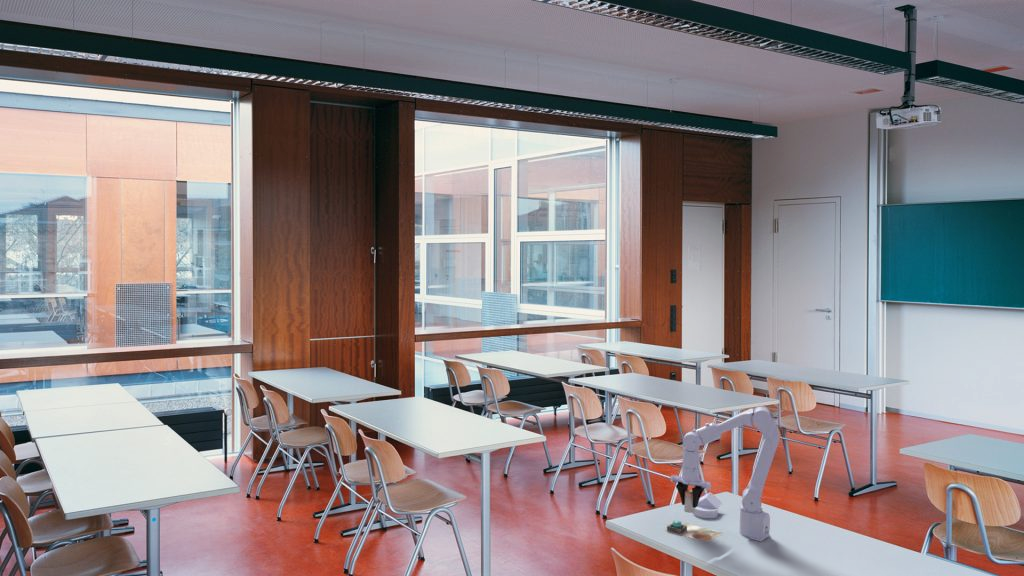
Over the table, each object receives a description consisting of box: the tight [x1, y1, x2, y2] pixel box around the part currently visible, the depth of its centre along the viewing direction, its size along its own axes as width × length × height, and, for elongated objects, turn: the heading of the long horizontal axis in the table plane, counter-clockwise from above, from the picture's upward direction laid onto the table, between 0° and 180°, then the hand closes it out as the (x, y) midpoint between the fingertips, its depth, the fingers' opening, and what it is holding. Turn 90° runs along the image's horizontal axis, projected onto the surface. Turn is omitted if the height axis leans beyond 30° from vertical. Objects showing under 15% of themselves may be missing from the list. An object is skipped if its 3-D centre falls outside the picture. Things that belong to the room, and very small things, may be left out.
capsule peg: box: [683, 489, 695, 514], centre depth 278 cm, size 4×4×7 cm
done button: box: [672, 520, 683, 529], centre depth 273 cm, size 3×3×2 cm
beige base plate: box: [665, 521, 724, 543], centre depth 273 cm, size 18×14×2 cm
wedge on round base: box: [692, 491, 723, 519], centre depth 293 cm, size 9×7×13 cm
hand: (689, 505), depth 278 cm, fingers closed on capsule peg, 4 cm apart
